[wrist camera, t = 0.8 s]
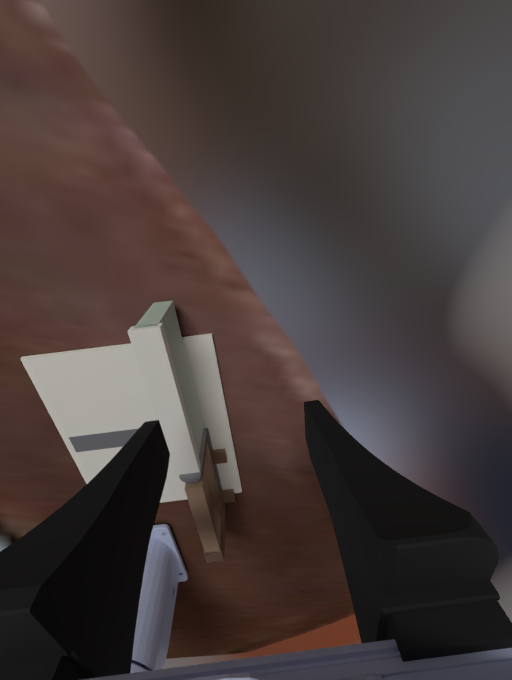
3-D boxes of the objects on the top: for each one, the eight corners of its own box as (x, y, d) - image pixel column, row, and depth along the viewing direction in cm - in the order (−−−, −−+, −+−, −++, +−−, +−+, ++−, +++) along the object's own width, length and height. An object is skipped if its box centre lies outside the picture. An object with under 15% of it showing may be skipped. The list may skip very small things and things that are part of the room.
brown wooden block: (237, 507, 28) (237, 558, 24) (199, 512, 28) (193, 564, 24) (222, 436, 24) (219, 484, 20) (178, 442, 24) (166, 490, 20)
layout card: (242, 490, 27) (242, 492, 27) (101, 508, 27) (100, 510, 27) (211, 333, 20) (211, 334, 20) (21, 356, 20) (19, 358, 20)
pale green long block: (209, 438, 23) (203, 485, 19) (188, 440, 23) (179, 488, 19) (176, 300, 18) (159, 327, 14) (150, 303, 18) (127, 331, 14)
